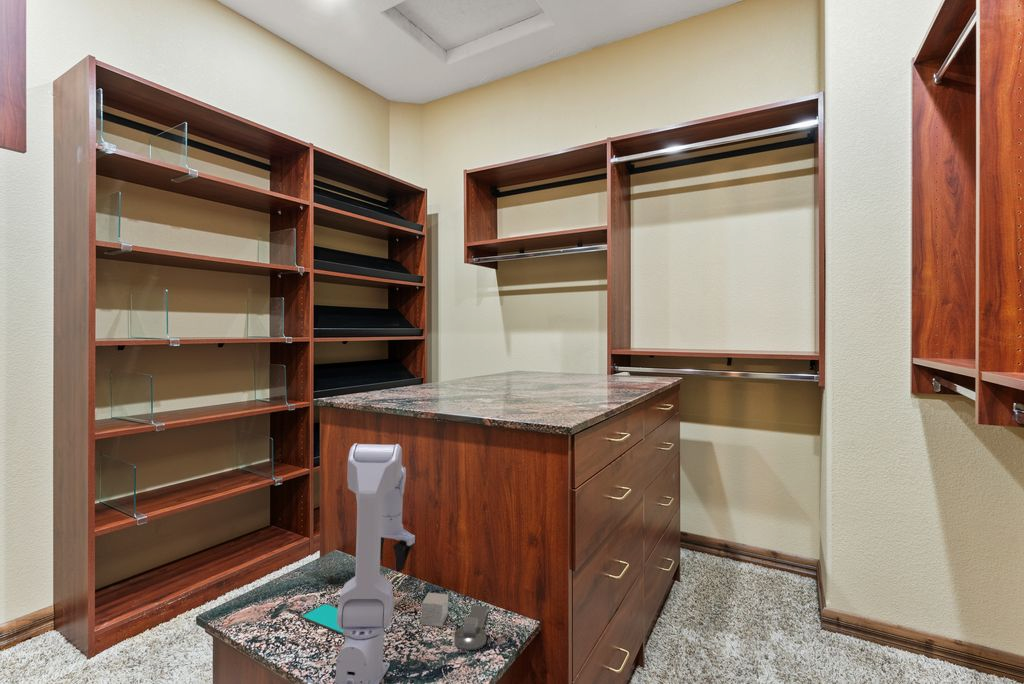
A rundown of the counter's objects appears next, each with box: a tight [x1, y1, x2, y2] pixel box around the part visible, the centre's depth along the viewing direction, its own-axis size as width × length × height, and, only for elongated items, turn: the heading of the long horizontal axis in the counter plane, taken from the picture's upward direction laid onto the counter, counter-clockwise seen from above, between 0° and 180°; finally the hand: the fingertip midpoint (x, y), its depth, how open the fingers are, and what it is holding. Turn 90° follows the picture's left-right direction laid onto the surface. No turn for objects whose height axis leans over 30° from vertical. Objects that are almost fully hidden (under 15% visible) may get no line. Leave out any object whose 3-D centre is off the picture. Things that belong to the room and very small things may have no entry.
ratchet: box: [453, 605, 489, 651], centre depth 108 cm, size 16×7×4 cm, turn 174°
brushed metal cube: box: [420, 592, 449, 628], centre depth 112 cm, size 5×5×5 cm
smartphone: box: [299, 602, 345, 637], centre depth 110 cm, size 7×1×15 cm
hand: (388, 565), depth 119 cm, fingers open, 7 cm apart
